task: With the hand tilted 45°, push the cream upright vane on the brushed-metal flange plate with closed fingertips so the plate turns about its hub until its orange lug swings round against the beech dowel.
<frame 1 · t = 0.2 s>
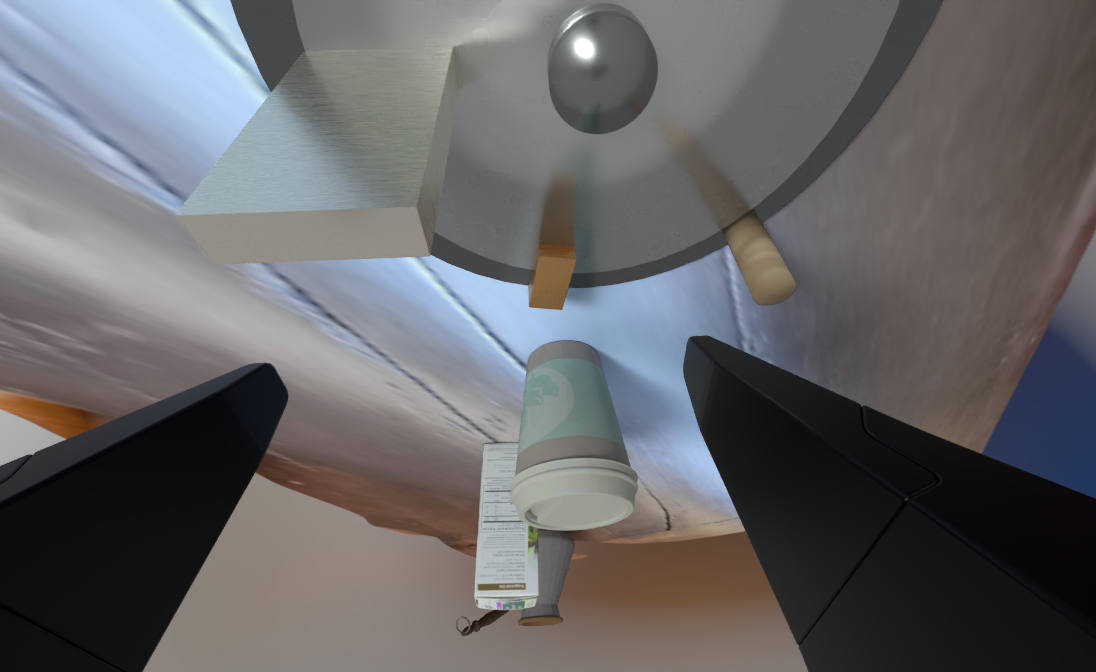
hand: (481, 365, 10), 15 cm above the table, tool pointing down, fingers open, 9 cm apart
flange plate: (611, 146, 15), point 6 cm above the table, hinge at 0.0°
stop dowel: (736, 217, 26), resting on grey round disc
coffee cup: (562, 360, 36), on the table
grey round disc: (592, 45, 19), on the table
syrup box: (509, 451, 49), on the table
coffee pot: (517, 521, 69), on the table
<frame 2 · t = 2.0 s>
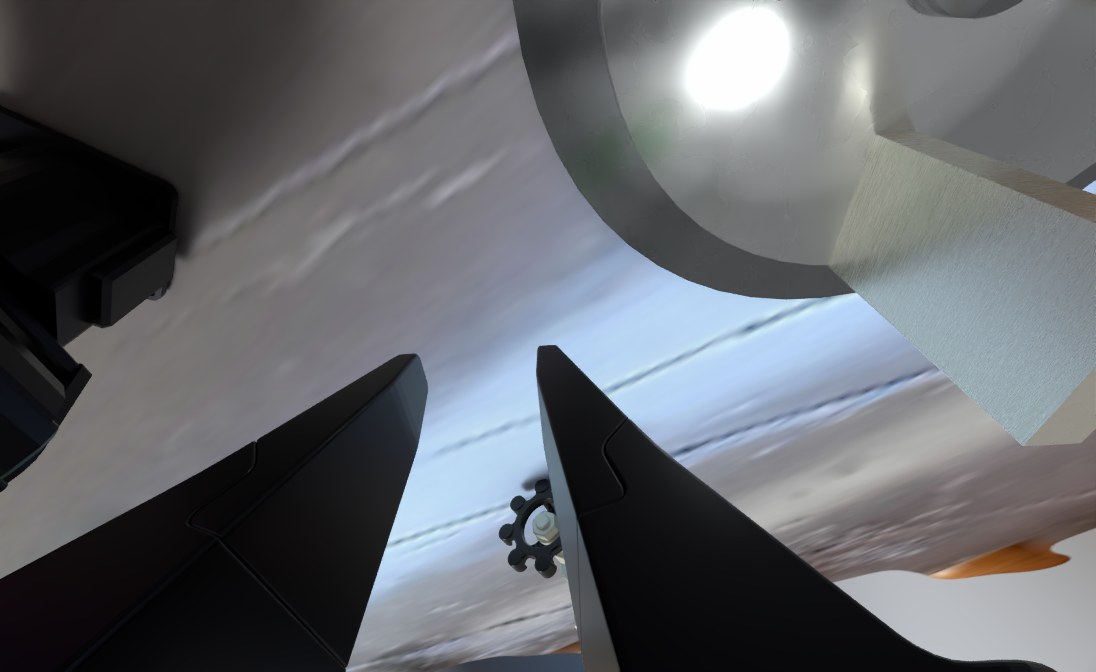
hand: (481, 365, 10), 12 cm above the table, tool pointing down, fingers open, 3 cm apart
valve: (573, 516, 36), on the table
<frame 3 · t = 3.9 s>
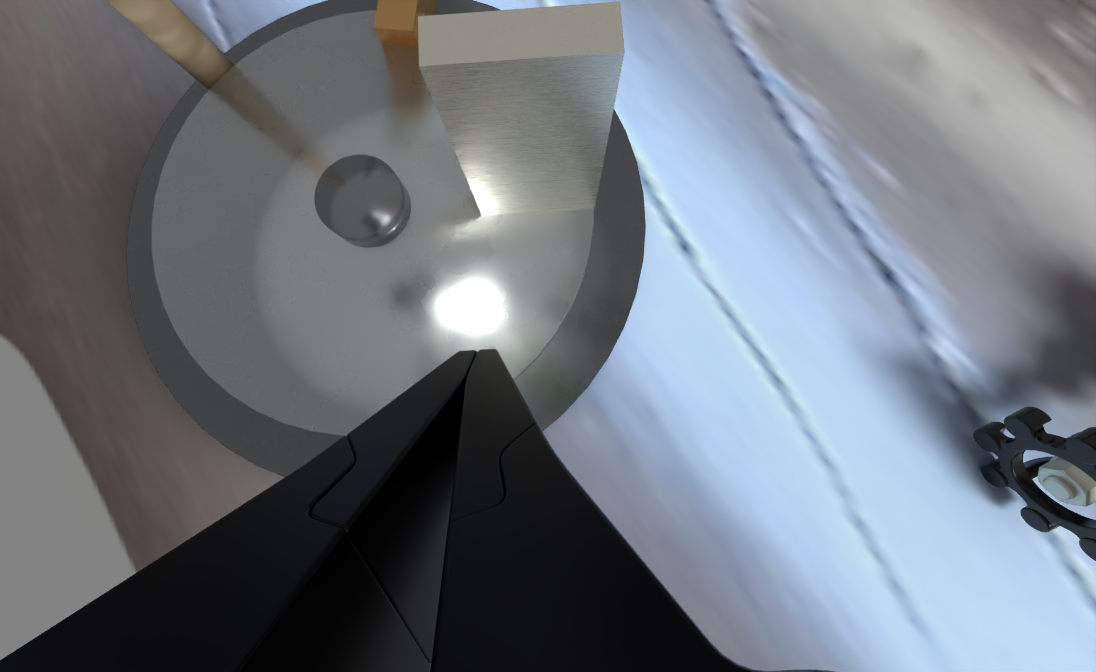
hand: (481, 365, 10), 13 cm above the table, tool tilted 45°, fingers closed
flange plate: (325, 140, 18), point 6 cm above the table, hinge at 0.0°
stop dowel: (228, 83, 25), resting on grey round disc
grey round disc: (386, 224, 24), on the table
valve: (1081, 420, 22), on the table
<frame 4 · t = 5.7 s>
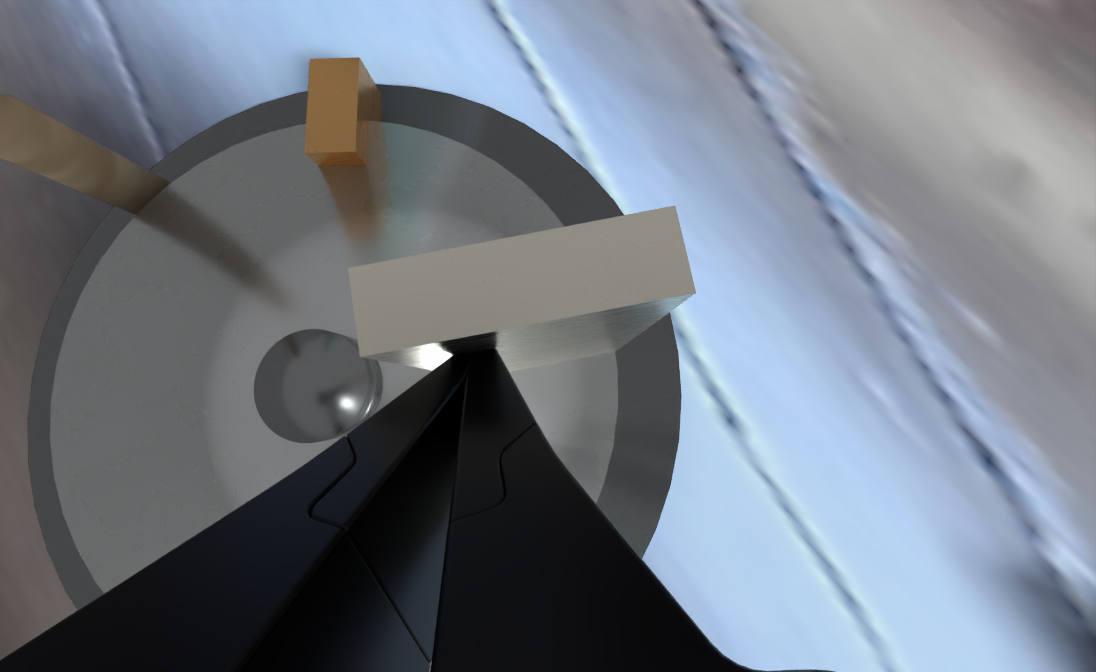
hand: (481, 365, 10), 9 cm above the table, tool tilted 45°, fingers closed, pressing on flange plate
flange plate: (251, 349, 13), point 6 cm above the table, hinge at 7.5°, touching gripper
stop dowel: (159, 201, 20), resting on grey round disc
grey round disc: (354, 386, 19), on the table
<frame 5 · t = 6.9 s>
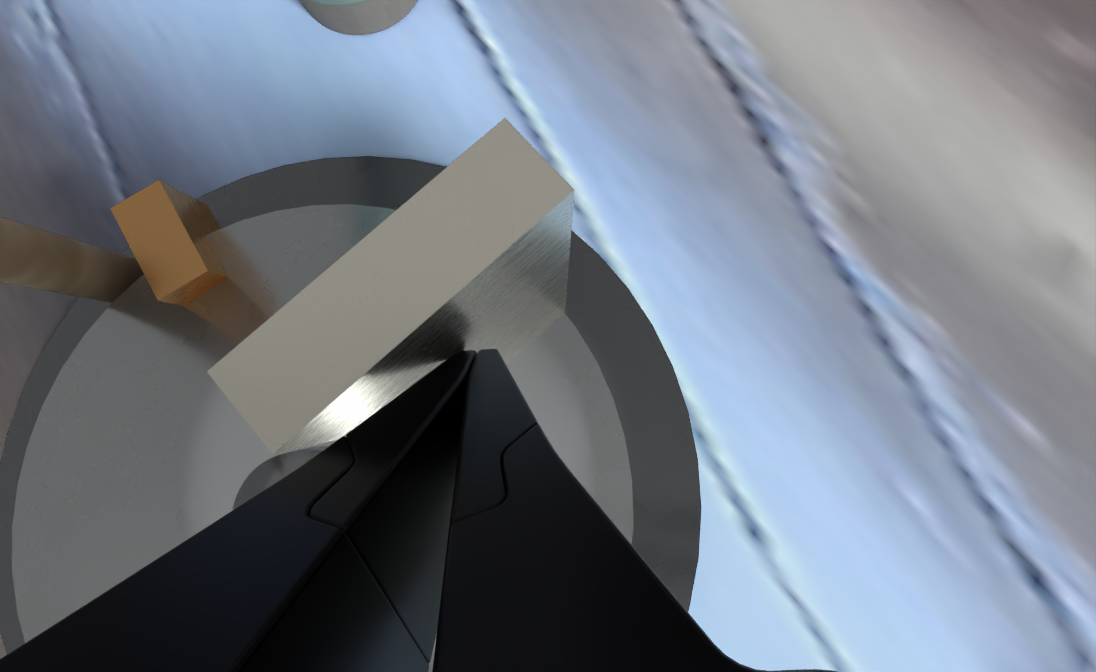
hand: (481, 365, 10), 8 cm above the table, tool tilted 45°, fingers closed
flange plate: (204, 517, 11), point 6 cm above the table, hinge at 38.8°, touching gripper
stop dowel: (135, 283, 19), resting on grey round disc
grey round disc: (345, 491, 18), on the table
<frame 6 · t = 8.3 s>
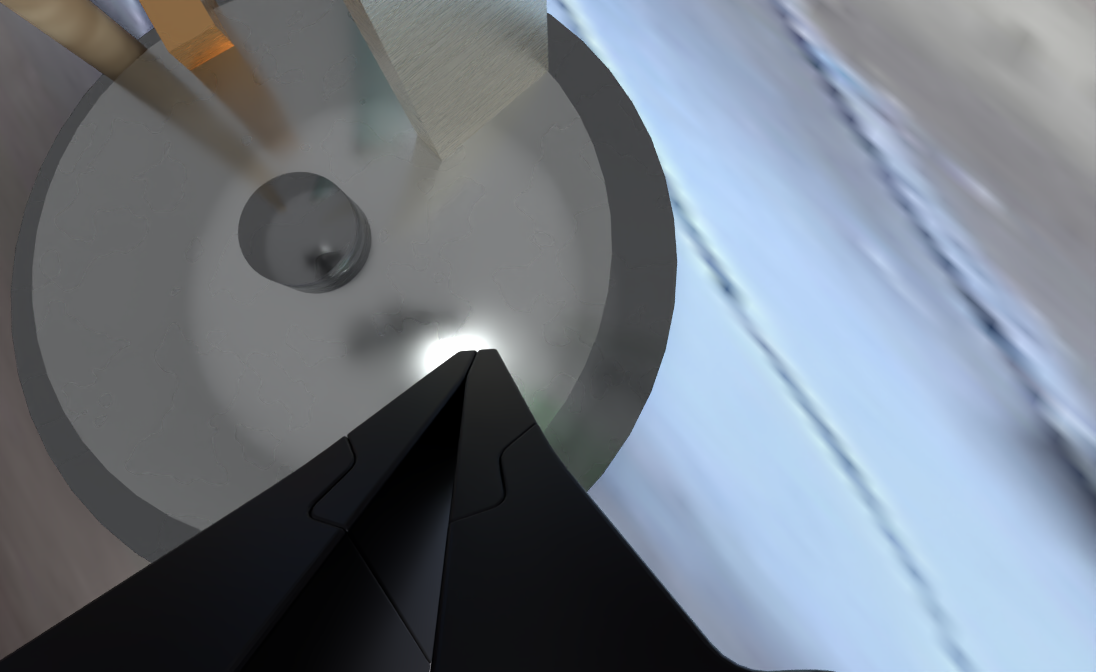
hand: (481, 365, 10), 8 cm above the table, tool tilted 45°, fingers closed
flange plate: (214, 165, 13), point 6 cm above the table, hinge at 38.9°
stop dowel: (145, 76, 20), resting on grey round disc
grey round disc: (344, 257, 19), on the table
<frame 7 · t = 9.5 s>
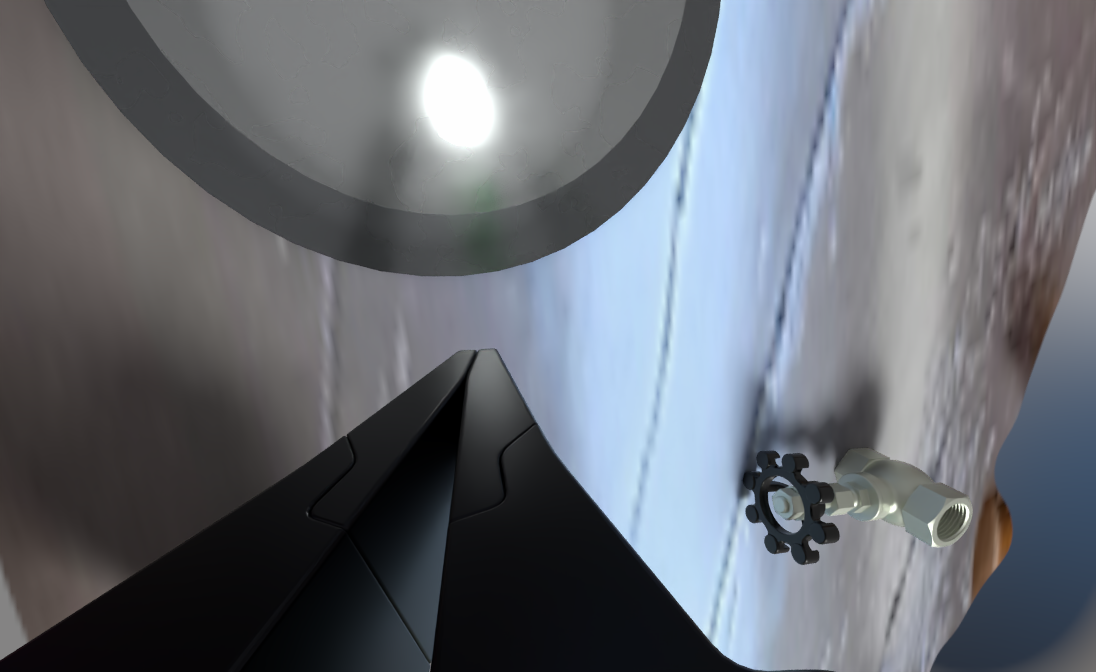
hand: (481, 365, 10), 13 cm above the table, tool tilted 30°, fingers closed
valve: (809, 469, 32), on the table
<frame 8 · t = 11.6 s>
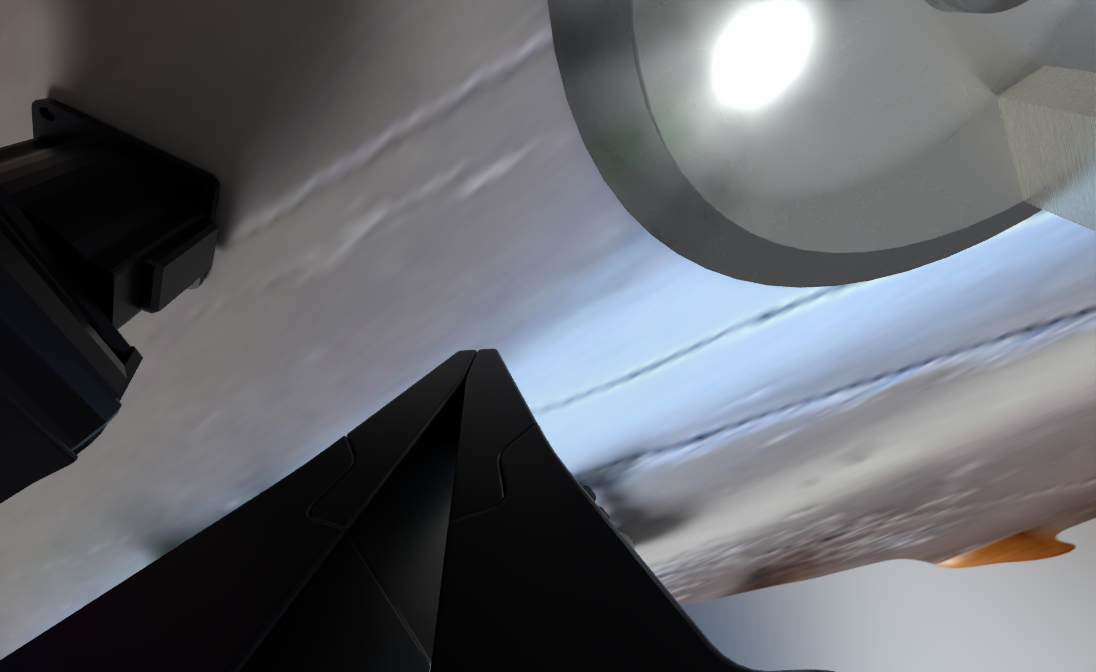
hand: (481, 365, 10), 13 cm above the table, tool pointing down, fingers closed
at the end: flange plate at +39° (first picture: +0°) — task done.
